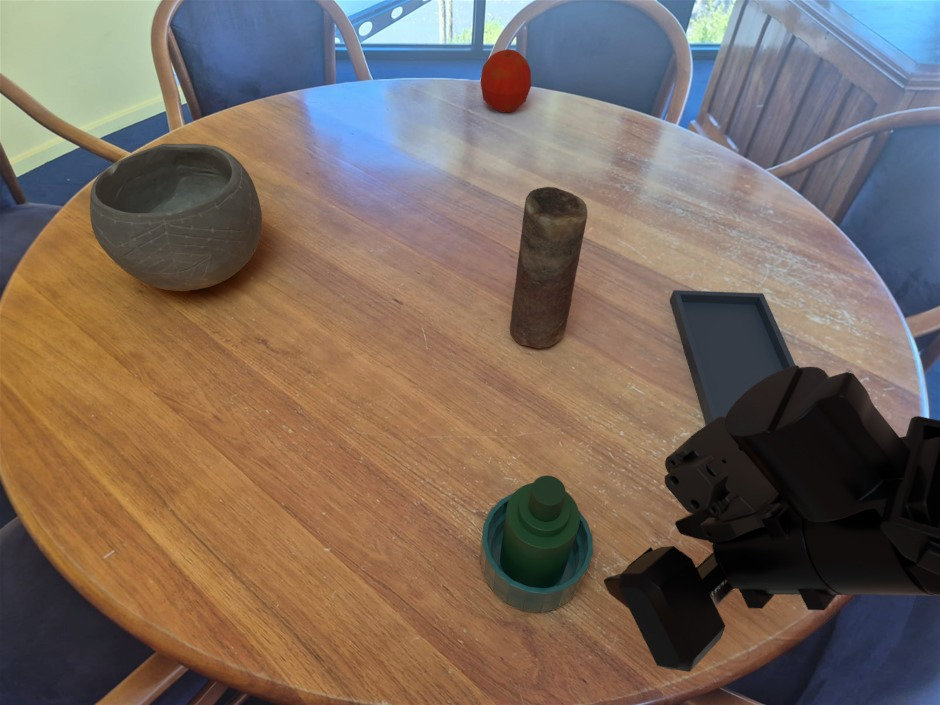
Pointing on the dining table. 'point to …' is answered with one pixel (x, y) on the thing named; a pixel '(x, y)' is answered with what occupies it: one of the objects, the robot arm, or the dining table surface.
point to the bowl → (177, 215)
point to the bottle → (539, 533)
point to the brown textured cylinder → (547, 265)
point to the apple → (505, 80)
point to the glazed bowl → (520, 593)
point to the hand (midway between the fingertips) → (644, 555)
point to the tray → (727, 345)
